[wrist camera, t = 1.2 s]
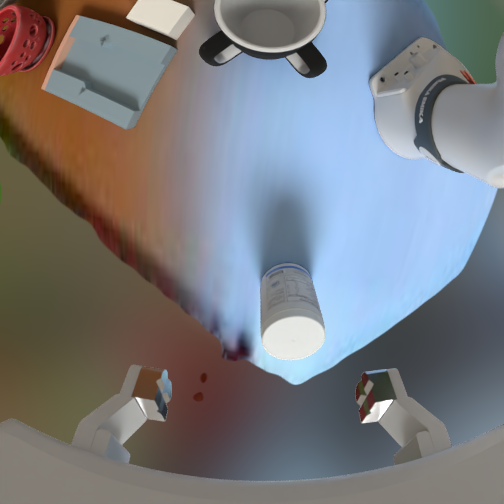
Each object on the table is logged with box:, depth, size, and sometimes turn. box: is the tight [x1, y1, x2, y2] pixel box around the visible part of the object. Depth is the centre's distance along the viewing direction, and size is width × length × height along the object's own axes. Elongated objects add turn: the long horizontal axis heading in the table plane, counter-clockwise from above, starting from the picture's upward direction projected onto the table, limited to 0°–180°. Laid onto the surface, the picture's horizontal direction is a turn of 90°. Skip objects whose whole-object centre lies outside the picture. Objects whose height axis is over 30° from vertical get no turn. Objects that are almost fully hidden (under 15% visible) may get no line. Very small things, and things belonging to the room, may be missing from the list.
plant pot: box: [0, 4, 55, 76], centre depth 24 cm, size 13×13×12 cm
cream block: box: [126, 0, 195, 40], centre depth 29 cm, size 5×8×4 cm, turn 56°
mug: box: [199, 0, 328, 78], centre depth 27 cm, size 16×16×12 cm
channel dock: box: [41, 15, 177, 129], centre depth 33 cm, size 14×20×3 cm
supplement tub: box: [260, 263, 325, 360], centre depth 46 cm, size 10×10×15 cm
